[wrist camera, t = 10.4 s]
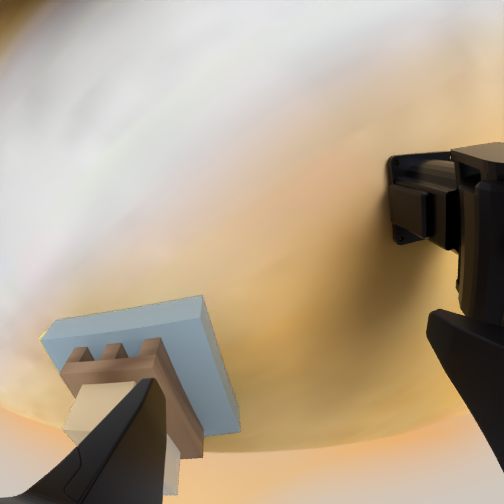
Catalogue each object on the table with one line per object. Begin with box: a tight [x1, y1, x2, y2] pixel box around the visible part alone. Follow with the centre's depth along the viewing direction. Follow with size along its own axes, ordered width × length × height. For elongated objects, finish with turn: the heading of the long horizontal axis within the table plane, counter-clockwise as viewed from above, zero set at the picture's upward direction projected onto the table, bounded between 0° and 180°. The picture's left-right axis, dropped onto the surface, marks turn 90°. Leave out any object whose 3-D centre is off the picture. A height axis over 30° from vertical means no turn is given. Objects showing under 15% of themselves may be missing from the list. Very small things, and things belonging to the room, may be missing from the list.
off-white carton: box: [163, 434, 181, 495], centre depth 16 cm, size 4×4×4 cm
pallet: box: [59, 337, 204, 459], centre depth 18 cm, size 7×10×3 cm
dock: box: [39, 295, 241, 436], centre depth 21 cm, size 13×12×3 cm
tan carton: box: [62, 381, 136, 447], centre depth 14 cm, size 4×4×4 cm
